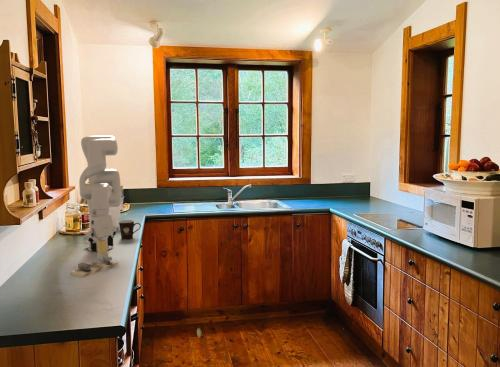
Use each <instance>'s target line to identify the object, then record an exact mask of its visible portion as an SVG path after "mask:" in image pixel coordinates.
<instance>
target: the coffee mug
mask: <svg viewBox="0 0 500 367" xmlns="http://www.w3.org/2000/svg"><path fill="white" fill-rule="evenodd" d="M136 225H139V227H138V229H136V230H135V231H134V229H135V228H134V227H135V226H136ZM118 227H119V231H120V232H119V233H120V237H121V240H132V239H133V238H134V234H135V233H137V231H139V230H140V229H141V227H142V226H141V224H140V222H136V223H135V220H133V219H123V220H119V226H118Z"/></svg>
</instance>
